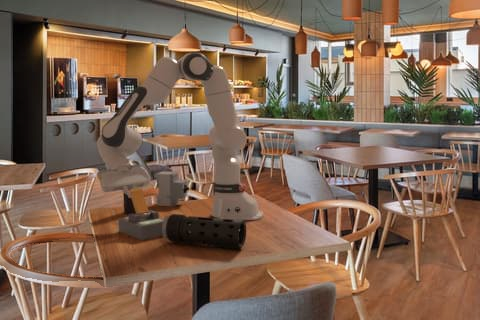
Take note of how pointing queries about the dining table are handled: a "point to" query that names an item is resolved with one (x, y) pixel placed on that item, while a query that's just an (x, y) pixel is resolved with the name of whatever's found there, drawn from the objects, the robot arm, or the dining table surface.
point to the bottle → (128, 205)
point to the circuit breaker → (170, 188)
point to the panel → (141, 226)
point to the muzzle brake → (205, 231)
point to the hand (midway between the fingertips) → (133, 196)
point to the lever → (139, 202)
